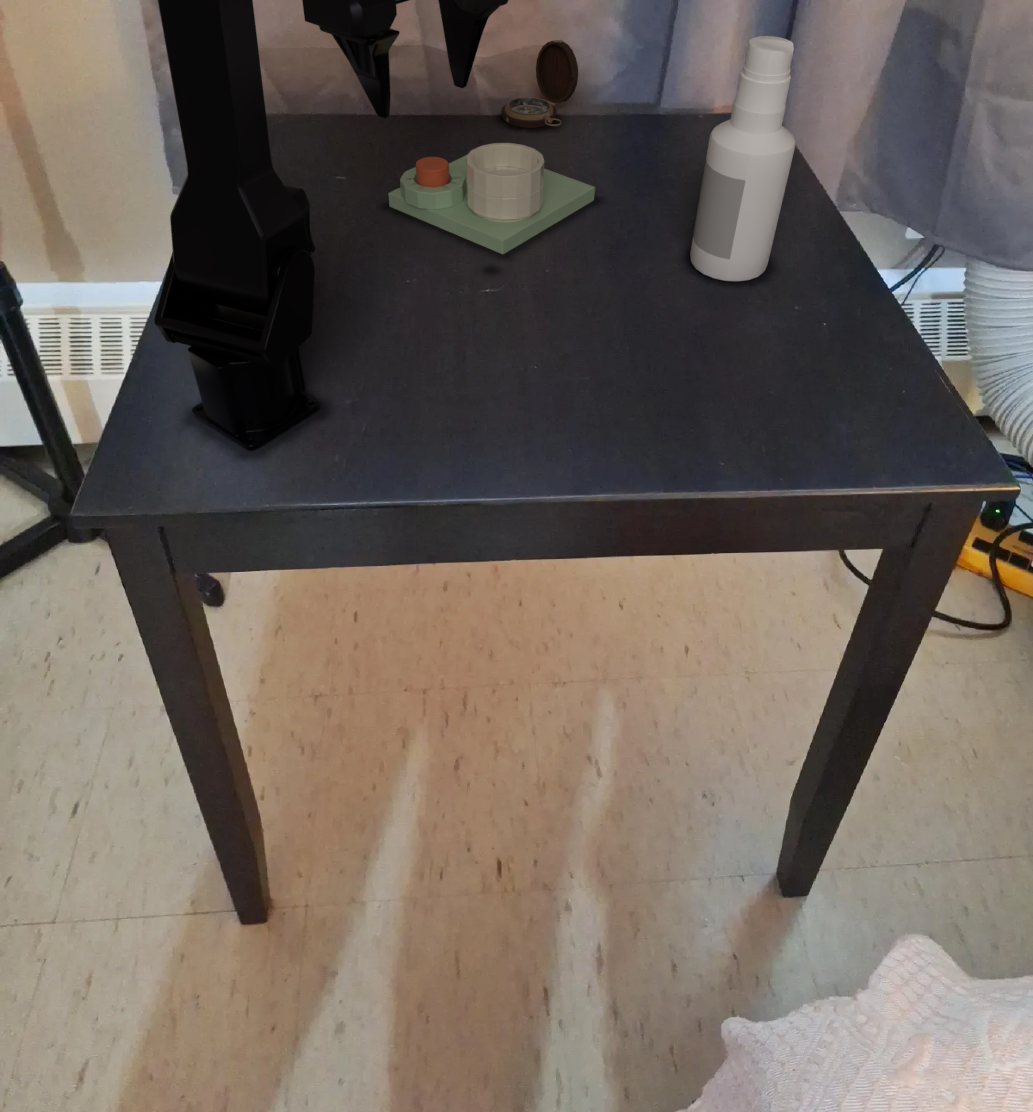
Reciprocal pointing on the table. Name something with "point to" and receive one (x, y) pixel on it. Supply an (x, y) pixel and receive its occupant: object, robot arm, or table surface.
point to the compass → (546, 88)
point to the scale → (456, 217)
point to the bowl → (504, 181)
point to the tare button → (432, 172)
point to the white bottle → (746, 169)
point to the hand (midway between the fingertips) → (423, 101)
